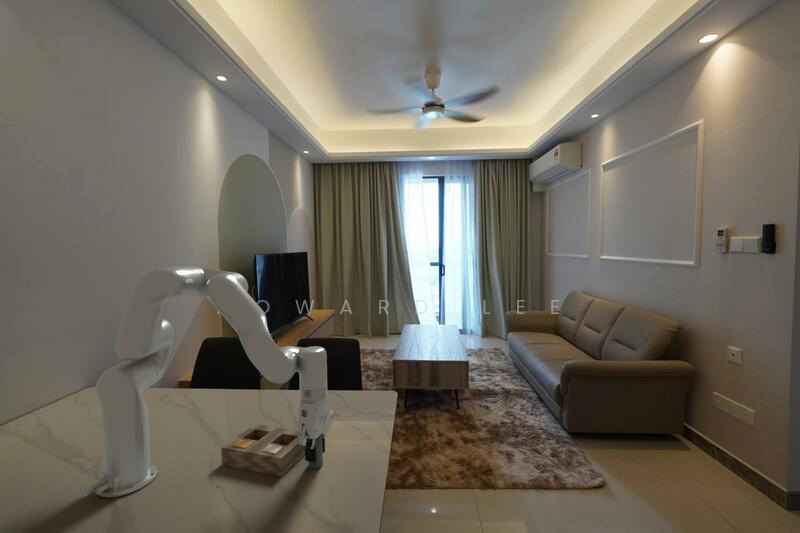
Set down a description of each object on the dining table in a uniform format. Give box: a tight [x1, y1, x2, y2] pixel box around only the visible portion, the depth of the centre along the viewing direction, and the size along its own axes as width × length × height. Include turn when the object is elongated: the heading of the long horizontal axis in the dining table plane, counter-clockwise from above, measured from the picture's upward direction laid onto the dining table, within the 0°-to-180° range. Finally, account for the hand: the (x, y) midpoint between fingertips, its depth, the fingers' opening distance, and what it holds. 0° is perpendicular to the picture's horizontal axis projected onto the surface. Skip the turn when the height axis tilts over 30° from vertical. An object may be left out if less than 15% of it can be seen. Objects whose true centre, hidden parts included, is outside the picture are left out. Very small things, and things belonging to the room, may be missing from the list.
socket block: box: [220, 423, 305, 477], centre depth 103 cm, size 20×14×5 cm
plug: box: [307, 434, 324, 470], centre depth 98 cm, size 4×4×9 cm
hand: (315, 455), depth 98 cm, fingers closed on plug, 4 cm apart
